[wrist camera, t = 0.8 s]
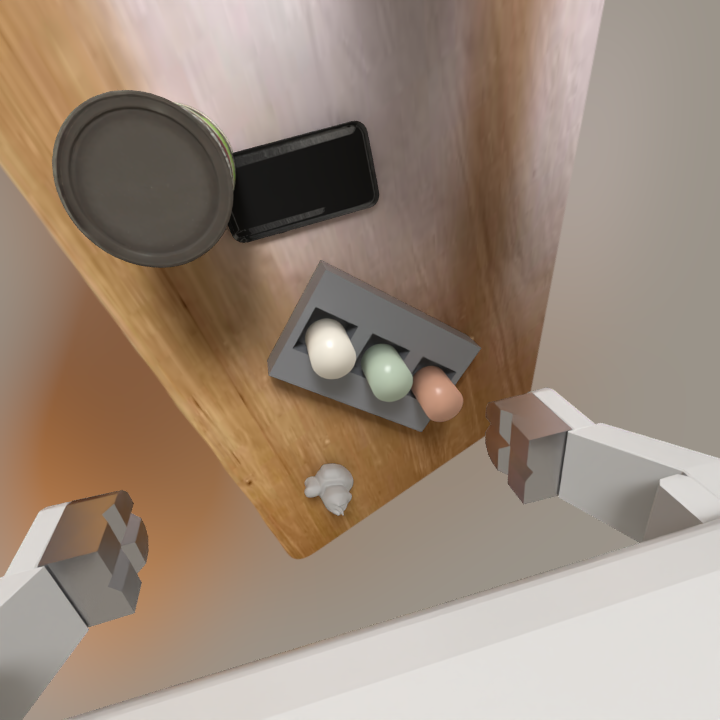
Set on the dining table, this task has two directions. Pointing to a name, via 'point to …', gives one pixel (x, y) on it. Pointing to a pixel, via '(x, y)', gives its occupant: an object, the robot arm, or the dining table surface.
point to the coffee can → (145, 177)
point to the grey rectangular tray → (367, 343)
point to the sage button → (386, 372)
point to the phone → (302, 181)
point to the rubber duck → (331, 487)
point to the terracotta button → (436, 394)
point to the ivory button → (329, 349)
